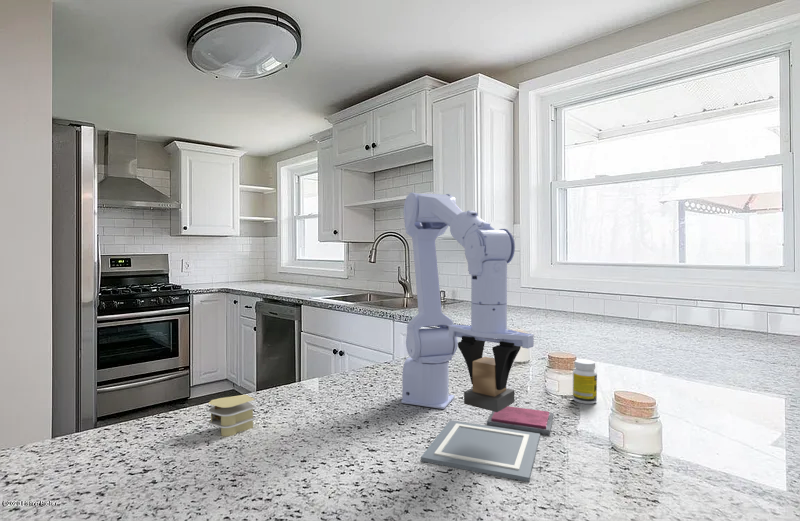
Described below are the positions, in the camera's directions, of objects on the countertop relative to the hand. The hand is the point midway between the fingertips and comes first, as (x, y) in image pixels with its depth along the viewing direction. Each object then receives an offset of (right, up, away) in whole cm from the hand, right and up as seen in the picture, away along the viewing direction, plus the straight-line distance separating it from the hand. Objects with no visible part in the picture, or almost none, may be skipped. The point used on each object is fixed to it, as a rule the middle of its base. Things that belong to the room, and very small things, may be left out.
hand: (488, 385), depth 73 cm
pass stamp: (0, -3, 0) cm, 3 cm away
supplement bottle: (+25, -10, +22) cm, 35 cm away
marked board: (-1, -10, -1) cm, 10 cm away
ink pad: (+8, -10, +11) cm, 17 cm away
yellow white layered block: (-45, -10, +7) cm, 46 cm away
